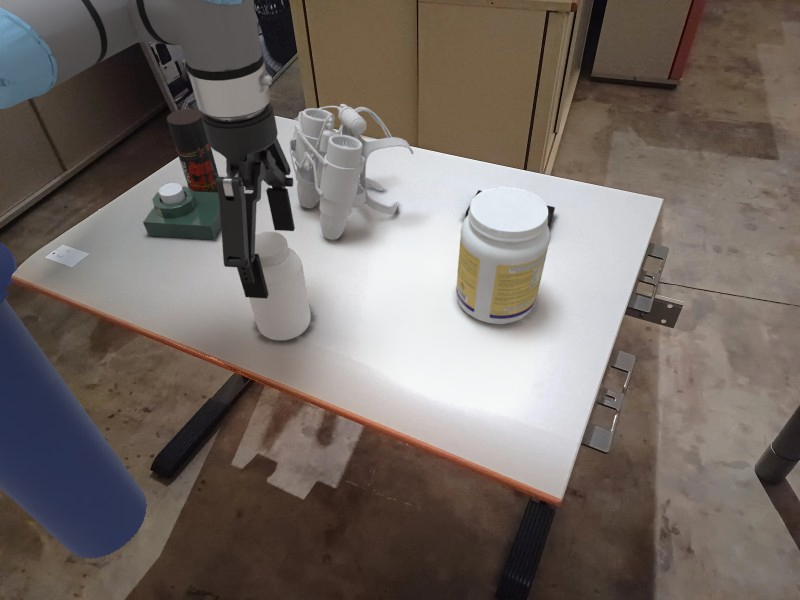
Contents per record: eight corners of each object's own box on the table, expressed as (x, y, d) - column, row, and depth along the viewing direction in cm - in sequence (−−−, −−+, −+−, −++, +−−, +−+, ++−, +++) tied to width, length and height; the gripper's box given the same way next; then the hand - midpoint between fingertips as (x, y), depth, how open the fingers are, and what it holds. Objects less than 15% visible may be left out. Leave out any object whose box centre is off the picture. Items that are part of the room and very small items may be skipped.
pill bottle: (249, 339, 79) (226, 260, 69) (267, 300, 85) (247, 221, 74) (303, 345, 78) (287, 265, 68) (317, 305, 84) (305, 226, 73)
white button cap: (158, 205, 95) (154, 195, 94) (167, 192, 98) (164, 182, 97) (180, 206, 95) (177, 196, 93) (189, 193, 98) (186, 183, 96)
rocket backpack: (410, 235, 101) (436, 131, 89) (315, 247, 92) (331, 132, 80) (367, 189, 112) (385, 90, 100) (278, 195, 103) (287, 87, 91)
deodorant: (183, 194, 106) (159, 120, 95) (203, 178, 109) (181, 106, 99) (209, 201, 104) (187, 127, 93) (228, 185, 108) (208, 112, 97)
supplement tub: (543, 284, 87) (565, 193, 75) (523, 337, 79) (544, 245, 67) (469, 264, 90) (478, 175, 79) (443, 313, 83) (450, 222, 71)
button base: (148, 236, 96) (138, 212, 93) (171, 203, 104) (162, 180, 100) (214, 240, 96) (207, 216, 92) (233, 206, 103) (226, 183, 99)
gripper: (233, 170, 49) (274, 331, 64) (298, 61, 67) (319, 207, 81) (152, 167, 50) (212, 327, 64) (238, 59, 67) (269, 204, 82)
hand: (271, 260), depth 73 cm, fingers open, 13 cm apart
